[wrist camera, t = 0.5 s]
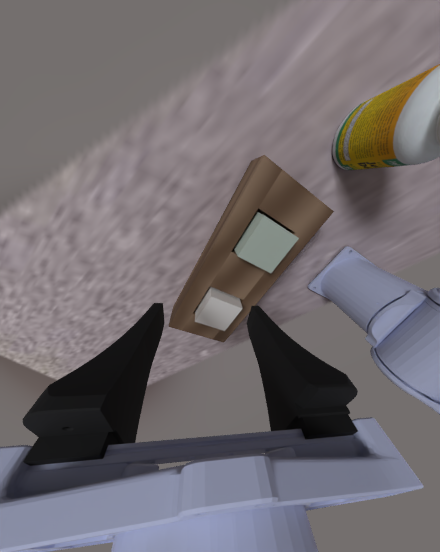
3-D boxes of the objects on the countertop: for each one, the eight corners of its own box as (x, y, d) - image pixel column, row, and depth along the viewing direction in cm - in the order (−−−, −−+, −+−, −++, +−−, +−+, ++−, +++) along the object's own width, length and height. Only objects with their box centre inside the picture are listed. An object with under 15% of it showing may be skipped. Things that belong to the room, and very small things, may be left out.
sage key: (285, 230, 18) (299, 238, 15) (262, 261, 20) (271, 273, 17) (254, 210, 16) (264, 215, 14) (232, 246, 18) (237, 256, 16)
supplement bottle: (390, 94, 15) (629, -19, 6) (375, 162, 17) (530, 143, 9) (332, 113, 15) (491, 27, 7) (327, 177, 18) (435, 171, 9)
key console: (310, 206, 19) (333, 211, 16) (221, 322, 28) (223, 342, 25) (251, 160, 16) (264, 155, 13) (173, 306, 25) (168, 326, 22)
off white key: (238, 293, 22) (242, 308, 19) (222, 315, 24) (224, 331, 21) (210, 282, 20) (211, 296, 18) (195, 305, 22) (194, 321, 20)
